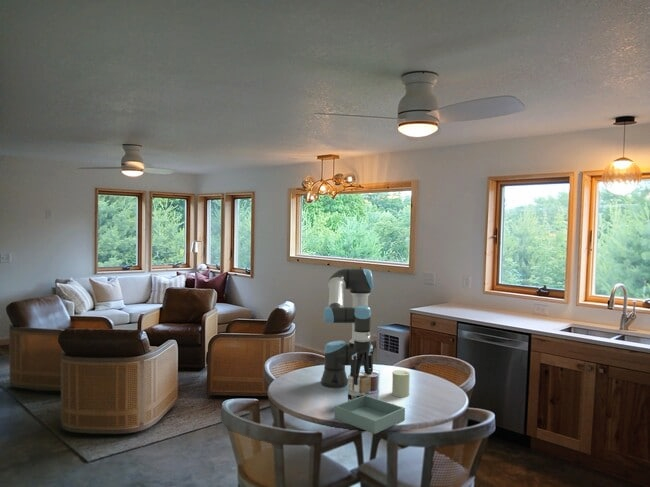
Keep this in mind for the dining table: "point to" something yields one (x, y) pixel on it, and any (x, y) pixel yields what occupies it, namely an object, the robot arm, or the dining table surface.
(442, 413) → the dining table surface
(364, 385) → the walnut cube
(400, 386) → the can
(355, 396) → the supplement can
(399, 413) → the tote
